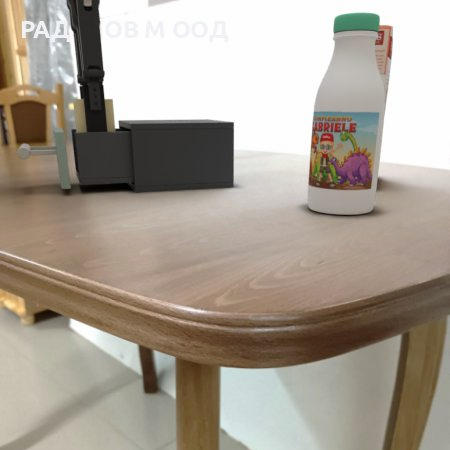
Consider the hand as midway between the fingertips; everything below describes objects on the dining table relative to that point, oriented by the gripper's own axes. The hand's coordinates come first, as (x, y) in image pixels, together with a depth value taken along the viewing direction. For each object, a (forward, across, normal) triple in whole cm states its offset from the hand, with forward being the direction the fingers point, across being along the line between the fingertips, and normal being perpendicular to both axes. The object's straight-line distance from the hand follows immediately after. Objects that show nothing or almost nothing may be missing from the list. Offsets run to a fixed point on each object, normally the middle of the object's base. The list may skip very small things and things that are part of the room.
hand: (95, 134), depth 70 cm
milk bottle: (+8, -26, -25) cm, 37 cm away
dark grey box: (+7, 0, -12) cm, 14 cm away
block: (0, 0, 0) cm, 0 cm away
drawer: (+7, 0, +1) cm, 7 cm away
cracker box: (+8, -9, -38) cm, 40 cm away
